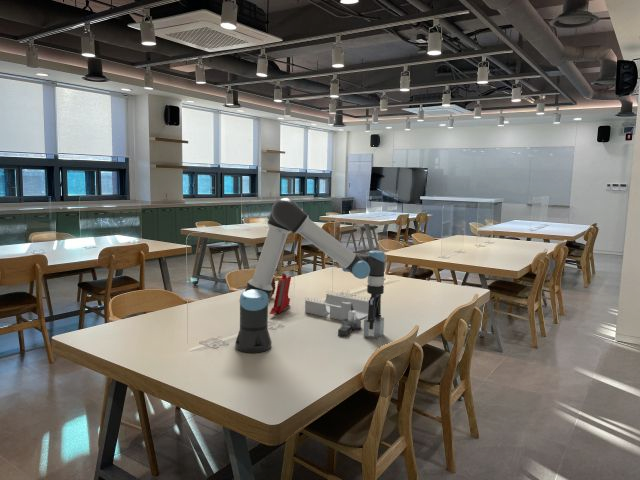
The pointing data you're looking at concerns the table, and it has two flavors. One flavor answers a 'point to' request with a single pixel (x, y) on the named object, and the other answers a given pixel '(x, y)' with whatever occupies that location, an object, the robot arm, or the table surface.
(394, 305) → the table surface
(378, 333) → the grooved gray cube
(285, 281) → the tool
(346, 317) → the skate ramp
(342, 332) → the ratchet
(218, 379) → the table surface
